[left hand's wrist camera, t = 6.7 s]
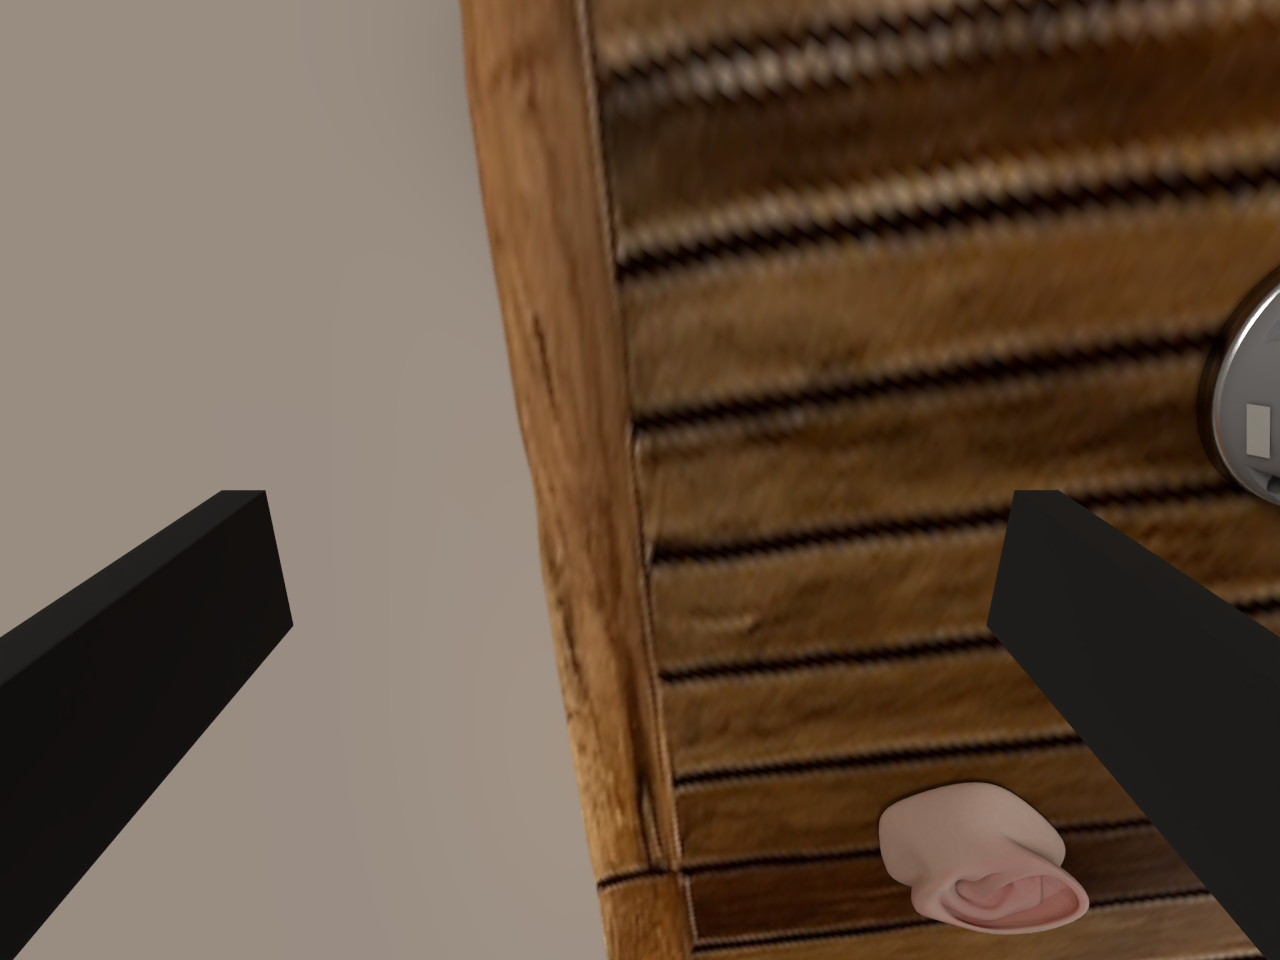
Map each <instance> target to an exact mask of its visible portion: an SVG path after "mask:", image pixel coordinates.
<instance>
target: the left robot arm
mask: <svg viewBox="0 0 1280 960" xmlns="http://www.w3.org/2000/svg"><path fill="white" fill-rule="evenodd" d="M1197 421H1198V428H1199V433H1200V437H1201V440H1202V443H1203V446H1204V448H1205V450H1206V452H1207V455H1208V456H1209V458H1210V460H1211V461H1212V463H1213V464H1214V466H1215V467H1216V468H1217V469H1218V470H1219V471H1220V473H1221V474H1222V475H1224V476H1225V477H1226V478H1227V479H1228V480H1229V481H1231V482H1232V483H1233V484H1235V485H1236V486H1238V487H1240V488H1242V489H1243V490H1245V491H1247V492H1249V493H1252V494H1254V495H1256V496H1258V497H1260V498H1262V499H1265V500H1267V501H1269V502H1271V503H1274V504H1277V505H1279V506H1280V266H1278V267H1277V268H1276V269H1275V270H1273V271H1272V272H1271V273H1270V274H1269V275H1267V276H1266V277H1265V278H1264V279H1263V280H1262V281H1261V282H1260V283H1259V284H1258V285H1257V286H1255V287H1254V288H1253V289H1252V290H1251V291H1250V293H1249V294H1248V295H1247V296H1246V297H1245V298H1244V299H1243V300H1242V302H1241V303H1240V304H1239V305H1238V306H1237V308H1236V309H1235V310H1234V312H1233V313H1232V314H1231V316H1230V317H1229V318H1228V320H1227V322H1226V323H1225V325H1224V326H1223V328H1222V329H1221V331H1220V333H1219V334H1218V336H1217V338H1216V340H1215V342H1214V344H1213V346H1212V348H1211V350H1210V353H1209V355H1208V357H1207V360H1206V363H1205V366H1204V368H1203V371H1202V375H1201V380H1200V384H1199V390H1198V397H1197ZM292 627H293V621H292V616H291V612H290V607H289V602H288V597H287V592H286V588H285V583H284V578H283V573H282V568H281V563H280V559H279V554H278V549H277V544H276V539H275V534H274V530H273V525H272V520H271V515H270V510H269V506H268V501H267V496H266V491H265V490H221V491H220V492H218V493H217V494H216V495H214V496H212V497H211V498H209V499H208V500H206V501H205V502H203V503H202V504H200V505H199V506H197V507H196V508H194V509H193V510H191V511H190V512H188V513H187V514H185V515H184V516H182V517H181V518H179V519H178V520H176V521H175V522H173V523H172V524H170V525H169V526H167V527H166V528H164V529H163V530H161V531H160V532H158V533H157V534H155V535H154V536H152V537H151V538H149V539H148V540H146V541H145V542H143V543H142V544H140V545H139V546H137V547H136V548H134V549H133V550H131V551H130V552H128V553H127V554H125V555H124V556H122V557H121V558H119V559H118V560H116V561H115V562H113V563H112V564H110V565H109V566H107V567H106V568H104V569H103V570H101V571H100V572H98V573H97V574H95V575H93V576H92V577H90V578H89V579H88V580H86V581H84V582H83V583H81V584H80V585H79V586H77V587H75V588H74V589H72V590H71V591H69V592H68V593H66V594H65V595H63V596H62V597H60V598H59V599H57V600H56V601H54V602H53V603H51V604H50V605H48V606H47V607H45V608H44V609H42V610H41V611H39V612H38V613H36V614H35V615H33V616H32V617H30V618H29V619H27V620H26V621H24V622H23V623H21V624H20V625H18V626H17V627H15V628H14V629H12V630H11V631H9V632H8V633H6V634H5V635H3V636H2V637H0V960H13V959H14V958H15V957H16V956H17V954H18V953H19V952H20V951H21V950H22V948H23V947H24V946H25V945H26V944H27V942H28V941H29V940H30V939H31V938H32V936H33V935H34V934H35V933H36V932H37V930H38V929H39V928H40V927H41V926H42V925H43V923H44V922H45V921H46V920H47V919H48V917H49V916H50V915H51V914H52V913H53V911H54V910H55V909H56V908H57V907H58V905H59V904H60V903H61V902H62V901H63V900H64V898H65V897H66V896H67V895H68V894H69V892H70V891H71V890H72V889H73V888H74V886H75V885H76V884H77V883H78V882H79V880H80V879H81V878H82V877H83V876H84V874H85V873H86V872H87V871H88V870H89V868H90V867H91V866H92V865H93V864H94V863H95V861H96V860H97V859H98V858H99V857H100V855H101V854H102V853H103V852H104V851H105V849H106V848H107V847H108V846H109V845H110V844H111V842H112V841H113V840H114V839H115V838H116V836H117V835H118V834H119V833H120V832H121V830H122V829H123V828H124V827H125V826H126V824H127V823H128V822H129V821H130V820H131V818H132V817H133V816H134V815H135V814H136V813H137V811H138V810H139V809H140V808H141V807H142V805H143V804H144V803H145V802H146V801H147V799H148V798H149V797H150V796H151V795H152V793H153V792H154V791H155V790H156V789H157V788H158V786H159V785H160V784H161V783H162V781H163V780H164V779H165V778H166V777H167V776H168V774H169V773H170V772H171V771H172V770H173V768H174V767H175V766H176V765H177V764H178V762H179V761H180V760H181V759H182V758H183V756H184V755H185V754H186V753H187V752H188V751H189V749H190V748H191V747H192V746H193V745H194V743H195V742H196V741H197V740H198V739H199V737H200V736H201V735H202V734H203V733H204V731H205V730H206V729H207V728H208V727H209V725H210V724H211V723H212V722H213V721H214V720H215V718H216V717H217V716H218V715H219V714H220V712H221V711H222V710H223V709H224V708H225V706H226V705H227V704H228V703H229V702H230V701H231V699H232V698H233V697H234V696H235V695H236V693H237V692H238V691H239V690H240V689H241V687H242V686H243V685H244V684H245V683H246V681H247V680H248V679H249V678H250V677H251V675H252V674H253V673H254V672H255V671H256V670H257V668H258V667H259V666H260V665H261V663H262V662H263V661H264V660H265V659H266V658H267V656H268V655H269V654H270V653H271V652H272V650H273V649H274V648H275V647H276V646H277V644H278V643H279V642H280V641H281V640H282V638H283V637H284V636H285V635H286V634H287V633H288V631H289V630H290V629H291V628H292ZM987 627H988V628H989V629H990V630H991V631H992V633H993V634H994V635H995V636H996V637H997V639H998V640H999V641H1000V642H1001V643H1002V645H1003V646H1004V647H1005V648H1006V649H1007V650H1008V652H1009V653H1010V654H1011V655H1012V656H1013V658H1014V659H1015V660H1016V661H1017V662H1018V664H1019V665H1020V666H1021V667H1022V668H1023V670H1024V671H1025V672H1026V673H1027V674H1028V675H1029V677H1030V678H1031V679H1032V680H1033V681H1034V683H1035V684H1036V685H1037V686H1038V687H1039V689H1040V690H1041V691H1042V692H1043V693H1044V695H1045V696H1046V697H1047V698H1048V699H1049V701H1050V702H1051V703H1052V704H1053V705H1054V706H1055V708H1056V709H1057V710H1058V711H1059V712H1060V714H1061V715H1062V716H1063V717H1064V718H1065V720H1066V721H1067V722H1068V723H1069V724H1070V726H1071V727H1072V728H1073V729H1074V730H1075V731H1076V733H1077V734H1078V735H1079V736H1080V737H1081V739H1082V740H1083V741H1084V742H1085V743H1086V745H1087V746H1088V747H1089V748H1090V749H1091V751H1092V752H1093V753H1094V754H1095V755H1096V757H1097V758H1098V759H1099V760H1100V761H1101V762H1102V764H1103V765H1104V766H1105V767H1106V768H1107V770H1108V771H1109V772H1110V773H1111V774H1112V776H1113V777H1114V778H1115V779H1116V780H1117V782H1118V783H1119V784H1120V785H1121V786H1122V788H1123V789H1124V790H1125V791H1126V792H1127V793H1128V795H1129V796H1130V797H1131V798H1132V799H1133V801H1134V802H1135V803H1136V804H1137V805H1138V807H1139V808H1140V809H1141V810H1142V811H1143V813H1144V814H1145V815H1146V816H1147V817H1148V818H1149V820H1150V821H1151V822H1152V823H1153V824H1154V826H1155V827H1156V828H1157V829H1158V830H1159V832H1160V833H1161V834H1162V835H1163V836H1164V838H1165V839H1166V840H1167V841H1168V842H1169V844H1170V845H1171V846H1172V847H1173V848H1174V849H1175V851H1176V852H1177V853H1178V854H1179V855H1180V857H1181V858H1182V859H1183V860H1184V861H1185V863H1186V864H1187V865H1188V866H1189V867H1190V869H1191V870H1192V871H1193V872H1194V873H1195V874H1196V876H1197V877H1198V878H1199V879H1200V880H1201V882H1202V883H1203V884H1204V885H1205V886H1206V888H1207V889H1208V890H1209V891H1210V892H1211V894H1212V895H1213V896H1214V897H1215V898H1216V900H1217V901H1218V902H1219V903H1220V904H1221V905H1222V907H1223V908H1224V909H1225V910H1226V911H1227V913H1228V914H1229V915H1230V916H1231V917H1232V919H1233V920H1234V921H1235V922H1236V923H1237V925H1238V926H1239V927H1240V928H1241V929H1242V931H1243V932H1244V933H1245V934H1246V935H1247V936H1248V938H1249V939H1250V940H1251V941H1252V942H1253V944H1254V945H1255V946H1256V947H1257V948H1258V950H1259V951H1260V952H1261V953H1262V954H1263V956H1264V957H1265V958H1266V959H1267V960H1280V637H1278V636H1277V635H1275V634H1274V633H1272V632H1271V631H1269V630H1268V629H1266V628H1265V627H1263V626H1262V625H1260V624H1259V623H1257V622H1256V621H1254V620H1253V619H1251V618H1250V617H1248V616H1247V615H1245V614H1244V613H1242V612H1241V611H1239V610H1238V609H1236V608H1235V607H1233V606H1232V605H1230V604H1229V603H1227V602H1226V601H1224V600H1223V599H1221V598H1220V597H1218V596H1217V595H1215V594H1214V593H1212V592H1211V591H1209V590H1208V589H1206V588H1205V587H1203V586H1202V585H1200V584H1199V583H1197V582H1196V581H1194V580H1193V579H1191V578H1190V577H1188V576H1187V575H1185V574H1184V573H1182V572H1181V571H1179V570H1177V569H1176V568H1174V567H1173V566H1171V565H1170V564H1168V563H1167V562H1165V561H1164V560H1162V559H1161V558H1159V557H1158V556H1156V555H1155V554H1153V553H1152V552H1150V551H1149V550H1147V549H1146V548H1144V547H1143V546H1141V545H1140V544H1138V543H1137V542H1135V541H1134V540H1132V539H1131V538H1129V537H1128V536H1126V535H1125V534H1123V533H1122V532H1120V531H1119V530H1117V529H1116V528H1114V527H1113V526H1111V525H1110V524H1108V523H1107V522H1105V521H1104V520H1102V519H1101V518H1099V517H1098V516H1096V515H1095V514H1093V513H1092V512H1090V511H1089V510H1087V509H1086V508H1084V507H1083V506H1081V505H1080V504H1078V503H1077V502H1075V501H1074V500H1072V499H1071V498H1069V497H1068V496H1066V495H1065V494H1063V493H1062V492H1060V491H1059V490H1015V491H1014V496H1013V501H1012V506H1011V510H1010V515H1009V520H1008V525H1007V530H1006V534H1005V539H1004V544H1003V549H1002V554H1001V559H1000V563H999V568H998V573H997V578H996V583H995V587H994V592H993V597H992V602H991V607H990V611H989V616H988V621H987Z"/></svg>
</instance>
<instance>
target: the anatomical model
mask: <svg viewBox="0 0 1280 960" xmlns="http://www.w3.org/2000/svg"><path fill="white" fill-rule="evenodd" d="M879 839H880V849H881V854H882V857H883V860H884V863H885V866H886V869H887V871H888V873H889V874H890V875H891V876H892V877H893V878H894V879H895V880H897V881H898V882H901V883H903V884H905V885H908V886H911V887H912V893H911V899H912V904H913V906H914V908H915V909H916V911H917V912H919V913H920V914H922V915H924V916H927V917H929V918H933V919H936V920H939V921H943V922H946V923H949V924H953V925H956V926H960V927H963V928H966V929H970V930H974V931H979V932H984V933H991V934H1022V933H1032V932H1039V931H1044V930H1049V929H1053V928H1056V927H1059V926H1062V925H1065V924H1067V923H1070V922H1072V921H1074V920H1076V919H1078V918H1080V917H1081V916H1082V915H1083V914H1085V912H1086V911H1087V910H1088V907H1089V899H1088V896H1087V894H1086V892H1085V890H1084V889H1083V887H1082V886H1081V885H1080V884H1079V883H1078V882H1077V881H1076V880H1075V879H1074V878H1073V877H1072V876H1071V875H1070V874H1069V873H1067V872H1066V871H1065V870H1064V869H1062V868H1061V867H1060V866H1061V864H1062V862H1063V860H1064V857H1065V846H1064V842H1063V840H1062V838H1061V837H1060V836H1059V834H1058V833H1057V831H1056V830H1055V829H1054V828H1053V827H1052V826H1051V825H1050V824H1049V823H1048V822H1047V821H1046V820H1045V818H1043V817H1042V816H1041V815H1040V814H1039V813H1038V812H1037V811H1036V810H1034V809H1033V808H1032V807H1031V806H1030V805H1028V804H1027V803H1026V802H1024V801H1023V800H1022V799H1020V798H1019V797H1018V796H1016V795H1014V794H1013V793H1011V792H1010V791H1008V790H1006V789H1004V788H1002V787H999V786H997V785H993V784H989V783H981V782H968V783H959V784H953V785H948V786H943V787H939V788H935V789H932V790H928V791H925V792H922V793H919V794H916V795H913V796H910V797H908V798H905V799H903V800H901V801H898V802H896V803H895V804H893V805H891V806H890V807H888V808H887V809H886V810H885V811H884V813H883V814H882V816H881V818H880V822H879Z"/></svg>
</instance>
